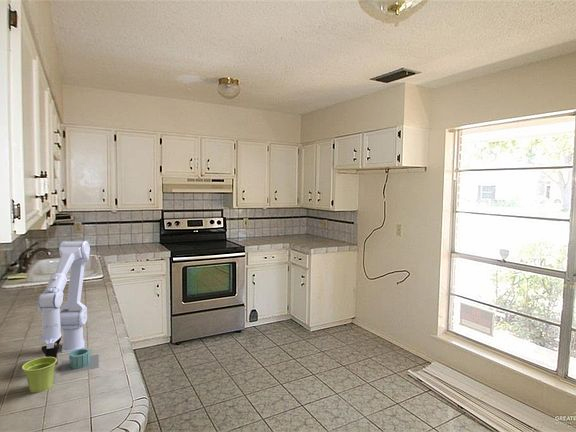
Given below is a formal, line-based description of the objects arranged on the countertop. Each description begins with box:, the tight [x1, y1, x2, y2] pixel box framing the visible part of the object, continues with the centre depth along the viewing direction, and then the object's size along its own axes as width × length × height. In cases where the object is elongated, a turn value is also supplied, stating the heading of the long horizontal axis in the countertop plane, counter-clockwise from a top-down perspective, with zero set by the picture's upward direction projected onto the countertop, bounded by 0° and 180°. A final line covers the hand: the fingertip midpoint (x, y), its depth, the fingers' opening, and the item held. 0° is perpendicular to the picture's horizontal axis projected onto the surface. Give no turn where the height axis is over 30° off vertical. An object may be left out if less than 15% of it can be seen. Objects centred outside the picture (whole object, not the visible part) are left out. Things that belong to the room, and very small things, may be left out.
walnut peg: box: [54, 343, 59, 366], centre depth 135 cm, size 3×3×8 cm
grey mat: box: [60, 354, 100, 376], centre depth 135 cm, size 12×12×1 cm
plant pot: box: [21, 356, 57, 394], centre depth 119 cm, size 9×9×9 cm
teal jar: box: [68, 347, 92, 369], centre depth 135 cm, size 7×7×5 cm
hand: (52, 359), depth 135 cm, fingers open, 7 cm apart
